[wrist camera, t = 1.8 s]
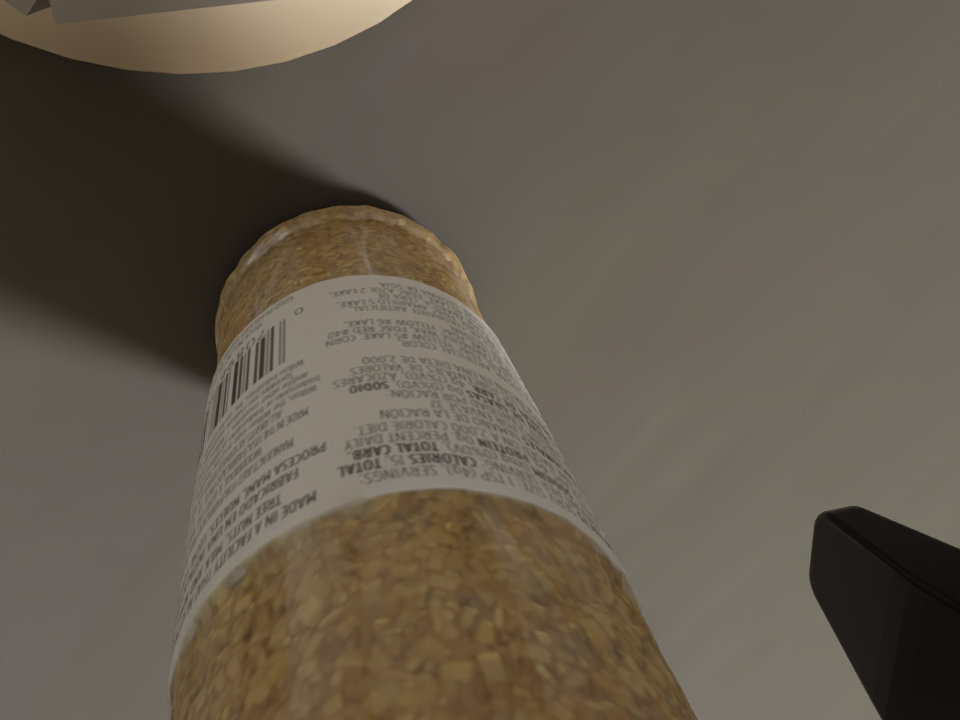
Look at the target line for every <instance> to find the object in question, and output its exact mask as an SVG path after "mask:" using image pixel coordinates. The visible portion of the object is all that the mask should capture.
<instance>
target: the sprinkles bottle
mask: <svg viewBox="0 0 960 720" xmlns="http://www.w3.org/2000/svg"><path fill="white" fill-rule="evenodd" d="M215 341H216V348H217V354H218V359H217V369H216V372H215V374H214V376H213V380H212V383H211V387H210V390H209V395H208V400H207V406H206V412H205V419H204V427H203V434H202V441H201V449H200V456H199V462H198V469H197V475H196V482H195V488H194V495H193V501H192V507H191V514H190V520H189V527H188V533H187V540H186V547H185V555H184V564H183V572H182V580H181V588H180V597H179V604H178V611H177V618H176V625H175V632H174V640H173V648H172V656H171V664H170V672H169V679H168V698H169V717H170V720H697V718H696V716H695V714H694V713H693V711H692V709H691V707H690V705H689V703H688V701H687V699H686V697H685V695H684V693H683V691H682V689H681V687H680V685H679V683H678V682H677V680H676V678H675V676H674V675H673V673H672V672H671V670H670V669H669V666H668V664H667V662H666V661H665V659H664V657H663V655H662V653H661V652H660V649H659V647H658V645H657V642H656V640H655V638H654V635H653V633H652V631H651V629H650V627H649V626H648V624H647V622H646V621H645V619H644V617H643V616H642V613H641V607H640V604H639V601H638V598H637V595H636V592H635V590H634V589H633V587H632V585H631V583H630V581H629V579H628V577H627V575H626V573H625V571H624V570H623V568H622V566H621V564H620V562H619V560H618V558H617V556H616V554H615V552H614V550H613V549H612V547H611V545H610V543H609V541H608V539H607V537H606V536H605V534H604V532H603V530H602V528H601V526H600V524H599V523H598V521H597V519H596V517H595V515H594V513H593V511H592V510H591V508H590V506H589V504H588V502H587V500H586V499H585V497H584V495H583V493H582V491H581V489H580V487H579V486H578V484H577V482H576V480H575V478H574V476H573V475H572V473H571V471H570V469H569V467H568V465H567V463H566V461H565V460H564V458H563V456H562V454H561V452H560V450H559V448H558V446H557V445H556V443H555V441H554V439H553V437H552V435H551V433H550V432H549V430H548V428H547V426H546V424H545V422H544V420H543V418H542V417H541V415H540V413H539V411H538V409H537V407H536V405H535V403H534V402H533V400H532V398H531V397H530V395H529V393H528V391H527V390H526V388H525V386H524V384H523V382H522V380H521V378H520V377H519V375H518V373H517V371H516V369H515V368H514V366H513V364H512V362H511V361H510V359H509V357H508V355H507V353H506V352H505V350H504V348H503V347H502V345H501V343H500V341H499V340H498V338H497V337H496V335H495V334H494V333H493V331H492V330H491V329H490V328H489V327H488V325H487V324H486V323H485V322H484V320H483V318H482V316H481V313H480V312H479V310H478V306H477V302H476V298H475V295H474V292H473V288H472V286H471V284H470V282H469V280H468V278H467V276H466V274H465V272H464V270H463V267H462V265H461V263H460V261H459V260H458V258H457V256H456V255H455V253H454V252H453V251H452V250H451V249H449V248H448V247H447V246H446V245H444V244H443V243H442V242H441V241H440V240H439V239H438V238H437V237H436V236H435V235H434V234H433V233H432V232H431V231H429V230H428V229H426V228H425V227H423V226H421V225H419V224H417V223H416V222H414V221H412V220H411V219H409V218H407V217H406V216H404V215H400V214H397V213H394V212H390V211H386V210H383V209H379V208H375V207H372V206H368V205H361V206H334V207H328V208H324V209H321V210H315V211H309V212H306V213H303V214H301V215H299V216H297V217H295V218H293V219H290V220H287V221H285V222H283V223H281V224H279V225H278V226H276V227H274V228H273V229H271V230H269V231H268V232H266V233H265V234H264V235H263V236H262V237H260V238H259V239H258V241H257V242H256V244H255V245H254V246H252V247H251V248H250V249H249V250H248V251H246V252H245V254H244V255H243V256H242V257H241V259H240V261H239V263H238V265H237V267H236V268H235V270H234V271H233V272H232V273H231V274H230V276H229V277H228V278H227V280H226V283H225V285H224V288H223V290H222V293H221V296H220V303H219V307H218V311H217V315H216V320H215Z"/></svg>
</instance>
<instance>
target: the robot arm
mask: <svg viewBox="0 0 960 720" xmlns="http://www.w3.org/2000/svg"><path fill="white" fill-rule="evenodd" d="M809 576H810V583H811V587H812V590H813V593H814V595H815V597H816V599H817V601H818V603H819V605H820V607H821V609H822V610H823V612H824V614H825V616H826V618H827V620H828V622H829V623H830V625H831V627H832V629H833V631H834V633H835V635H836V636H837V638H838V640H839V642H840V644H841V646H842V648H843V649H844V651H845V653H846V655H847V657H848V659H849V661H850V662H851V664H852V666H853V668H854V670H855V672H856V674H857V675H858V677H859V679H860V681H861V683H862V685H863V687H864V688H865V690H866V692H867V694H868V696H869V698H870V700H871V701H872V703H873V705H874V707H875V708H876V710H877V712H878V714H879V715H880V717H881V719H882V720H960V549H959V548H956V547H954V546H952V545H949V544H947V543H945V542H942V541H940V540H937V539H935V538H933V537H930V536H928V535H926V534H923V533H921V532H918V531H916V530H914V529H911V528H909V527H907V526H904V525H902V524H899V523H897V522H895V521H892V520H890V519H888V518H885V517H883V516H880V515H878V514H876V513H873V512H871V511H869V510H866V509H864V508H861V507H858V506H848V507H843V508H839V509H834V510H829V511H825V512H823V513H821V514H819V515H818V517H817V519H816V520H815V525H814V532H813V542H812V551H811V560H810V570H809Z"/></svg>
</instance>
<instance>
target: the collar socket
mask: <svg viewBox="0 0 960 720" xmlns="http://www.w3.org/2000/svg"><path fill="white" fill-rule="evenodd" d="M410 1H412V0H0V34H1V35H4V36H6V37H8V38H10V39H13V40H16V41H19V42H22V43H25V44H28V45H31V46H34V47H37V48H40V49H43V50H46V51H49V52H52V53H55V54H58V55H61V56H64V57H67V58H70V59H75V60H80V61H85V62H90V63H95V64H100V65H105V66H110V67H115V68H120V69H124V70H134V71H147V72H160V73H173V74H194V73H213V72H231V71H239V70H244V69H250V68H255V67H260V66H266V65H271V64H276V63H281V62H286V61H289V60H292V59H295V58H298V57H301V56H304V55H307V54H310V53H313V52H316V51H319V50H322V49H325V48H328V47H331V46H334V45H336V44H338V43H340V42H342V41H344V40H346V39H348V38H350V37H352V36H354V35H356V34H358V33H360V32H362V31H364V30H366V29H368V28H370V27H372V26H374V25H376V24H378V23H380V22H381V21H383V20H384V19H385V18H387V17H388V16H390V15H391V14H393V13H394V12H396V11H397V10H398V9H400V8H401V7H403V6H404V5H406V4H407V3H409V2H410Z"/></svg>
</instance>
